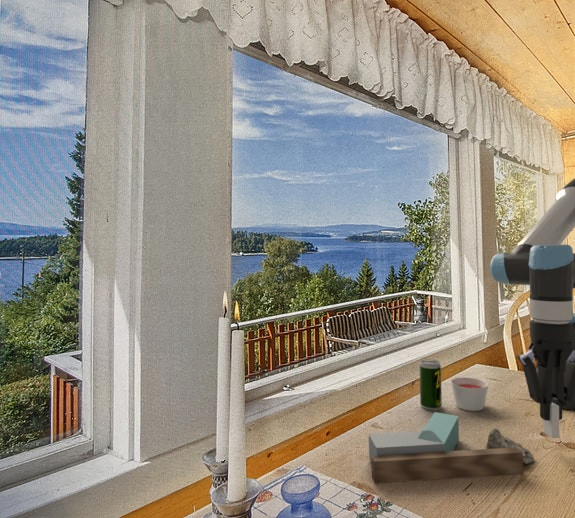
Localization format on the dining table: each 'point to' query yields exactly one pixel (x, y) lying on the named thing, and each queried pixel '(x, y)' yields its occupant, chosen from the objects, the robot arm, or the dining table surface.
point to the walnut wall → (447, 464)
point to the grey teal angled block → (418, 438)
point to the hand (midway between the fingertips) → (551, 434)
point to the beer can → (430, 384)
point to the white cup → (469, 393)
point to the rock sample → (507, 445)
